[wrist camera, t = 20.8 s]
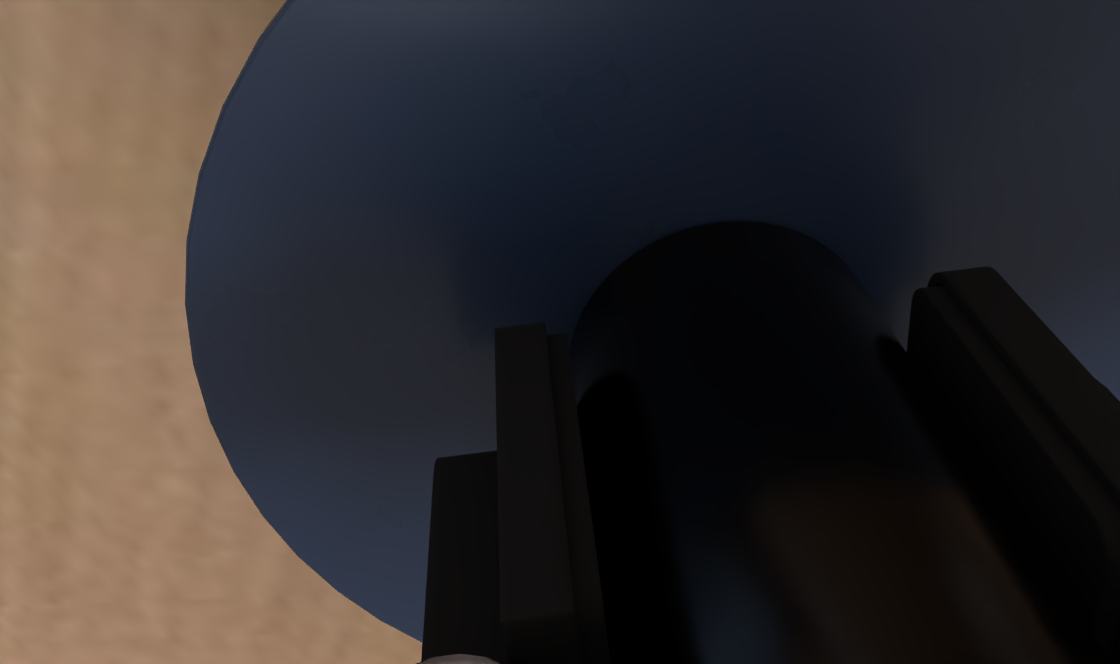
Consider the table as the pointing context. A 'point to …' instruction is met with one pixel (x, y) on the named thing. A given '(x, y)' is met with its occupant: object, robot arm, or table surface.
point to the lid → (663, 296)
